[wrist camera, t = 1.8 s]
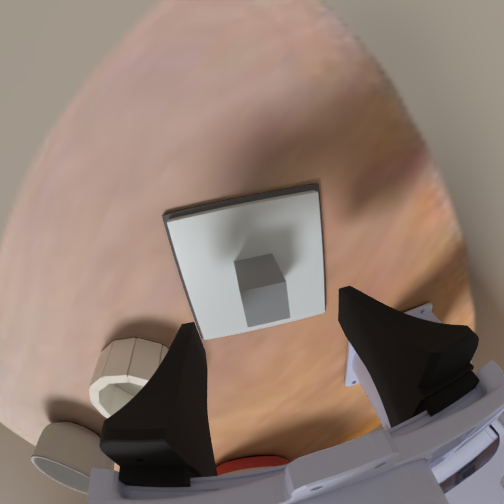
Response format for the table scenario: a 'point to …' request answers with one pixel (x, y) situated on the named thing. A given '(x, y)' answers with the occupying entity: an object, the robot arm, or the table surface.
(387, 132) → the table surface
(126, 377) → the bowl
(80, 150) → the table surface
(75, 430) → the teacup
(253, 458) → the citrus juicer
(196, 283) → the lid
